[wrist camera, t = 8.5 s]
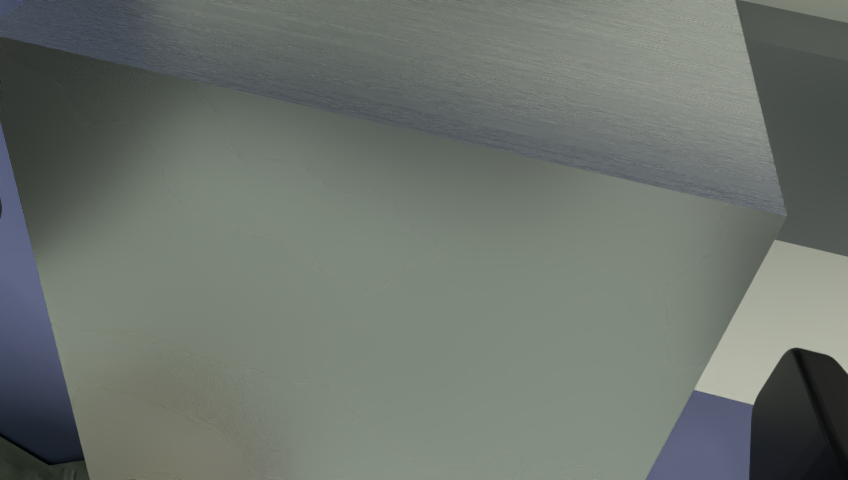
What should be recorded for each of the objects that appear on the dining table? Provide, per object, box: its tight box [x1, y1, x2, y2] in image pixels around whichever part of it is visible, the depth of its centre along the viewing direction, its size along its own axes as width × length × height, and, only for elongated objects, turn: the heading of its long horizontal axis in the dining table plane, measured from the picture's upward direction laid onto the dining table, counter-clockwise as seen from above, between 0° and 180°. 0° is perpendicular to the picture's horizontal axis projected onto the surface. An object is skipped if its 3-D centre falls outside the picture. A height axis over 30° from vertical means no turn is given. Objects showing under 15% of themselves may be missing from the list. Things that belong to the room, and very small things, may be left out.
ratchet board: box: [694, 0, 848, 405], centre depth 12 cm, size 20×14×6 cm
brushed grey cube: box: [0, 0, 787, 480], centre depth 10 cm, size 6×6×6 cm
